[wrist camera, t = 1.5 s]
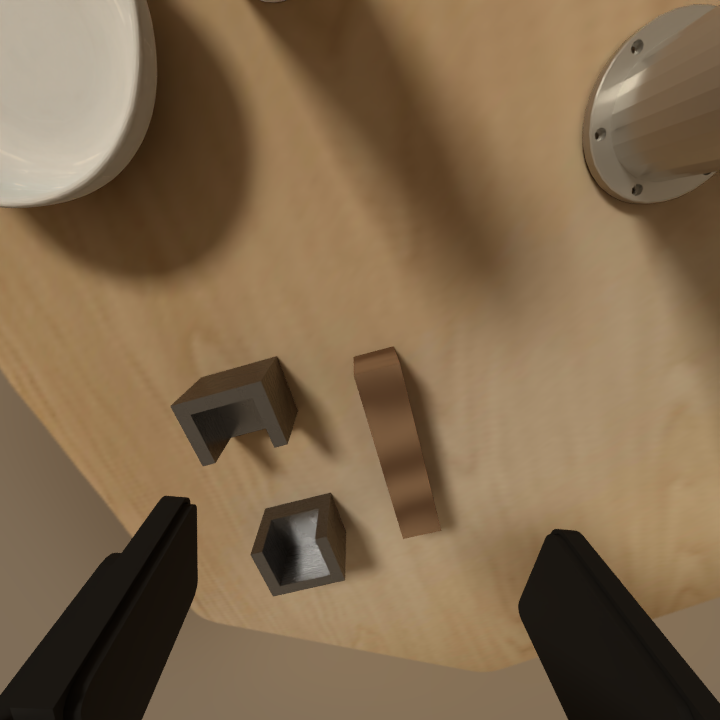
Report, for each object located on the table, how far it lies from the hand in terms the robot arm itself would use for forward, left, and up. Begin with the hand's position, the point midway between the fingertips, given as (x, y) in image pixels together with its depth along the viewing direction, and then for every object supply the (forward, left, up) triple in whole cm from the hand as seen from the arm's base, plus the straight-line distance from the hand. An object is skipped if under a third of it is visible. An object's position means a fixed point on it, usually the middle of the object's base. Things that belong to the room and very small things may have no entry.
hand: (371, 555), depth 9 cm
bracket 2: (+12, +20, -24) cm, 34 cm away
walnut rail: (-1, +12, -25) cm, 28 cm away
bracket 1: (+12, +4, -24) cm, 28 cm away
